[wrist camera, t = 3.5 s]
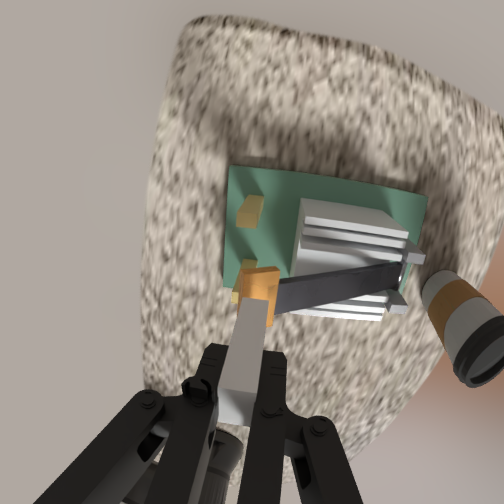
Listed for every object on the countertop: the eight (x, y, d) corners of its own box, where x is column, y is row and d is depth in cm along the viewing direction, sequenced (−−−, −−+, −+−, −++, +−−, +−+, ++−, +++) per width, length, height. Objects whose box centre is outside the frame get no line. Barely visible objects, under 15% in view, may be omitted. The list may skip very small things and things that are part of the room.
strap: (404, 249, 23) (412, 254, 22) (392, 290, 25) (399, 295, 24) (239, 268, 17) (245, 276, 16) (235, 324, 19) (240, 333, 18)
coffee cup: (466, 293, 30) (519, 358, 17) (423, 324, 33) (463, 401, 19) (454, 249, 28) (522, 312, 15) (405, 284, 31) (456, 365, 17)
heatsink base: (423, 195, 27) (467, 217, 18) (394, 300, 32) (418, 346, 24) (231, 164, 28) (208, 175, 20) (224, 282, 34) (205, 328, 25)
